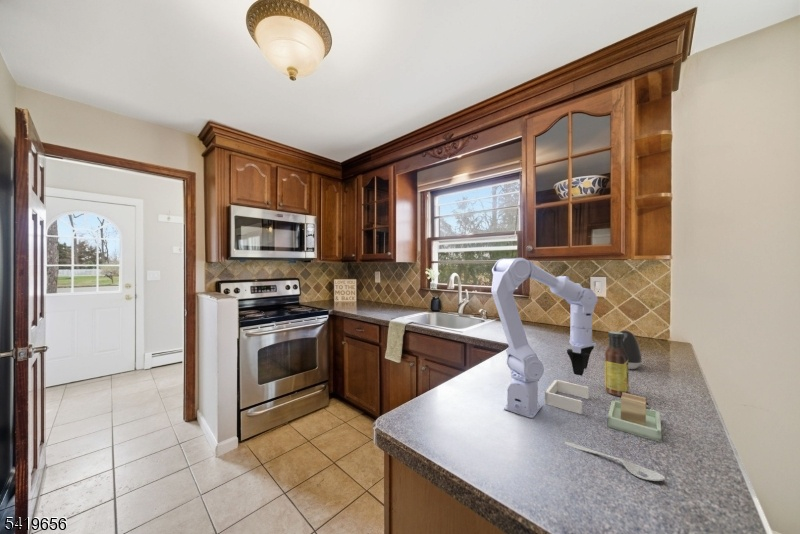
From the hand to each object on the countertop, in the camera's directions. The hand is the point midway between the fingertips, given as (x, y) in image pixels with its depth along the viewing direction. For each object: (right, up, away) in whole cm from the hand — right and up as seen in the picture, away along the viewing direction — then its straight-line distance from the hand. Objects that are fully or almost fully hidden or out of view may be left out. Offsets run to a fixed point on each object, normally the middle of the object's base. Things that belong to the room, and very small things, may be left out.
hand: (580, 371), depth 89 cm
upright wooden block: (+7, -9, -12) cm, 16 cm away
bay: (-4, -9, 0) cm, 10 cm away
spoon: (-11, -10, -26) cm, 30 cm away
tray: (+7, -10, -12) cm, 17 cm away
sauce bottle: (+16, -10, +6) cm, 20 cm away
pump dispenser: (+38, -10, +31) cm, 50 cm away
